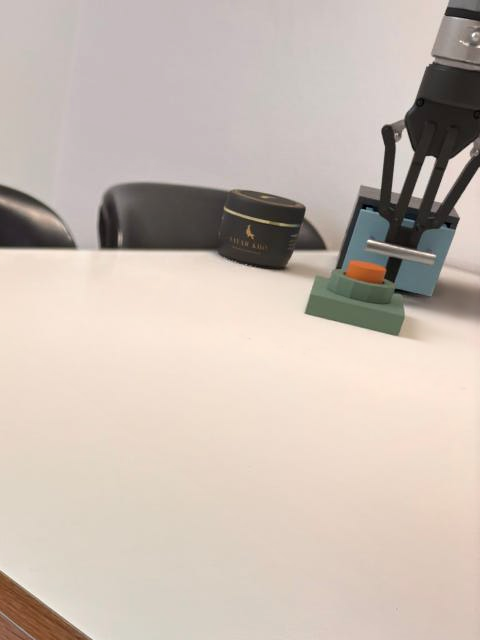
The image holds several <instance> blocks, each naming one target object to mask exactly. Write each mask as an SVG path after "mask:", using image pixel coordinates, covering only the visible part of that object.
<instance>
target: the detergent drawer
mask: <svg viewBox="0 0 480 640" xmlns="http://www.w3.org/2000/svg"><path fill="white" fill-rule="evenodd" d="M415 218H416V215H412V214H408V213H406V214H405V217H404V219H403V222H402V224H401V226H405V227H409V228H412V227H413V225H414V221H415ZM389 225H390V224H389V222H388V221H387V220H386V219H384V218H383V217H381V216H380V215H379V207H376V206H372V205H367V204H366V206H365V209H364V210H363V209H361V211H360V214H359V217H358V220H357V223H356V226H355V229H354V232H353V235H352V238H351V241H350V244H349V247H348V251H347V254H346V257H345V260H344V263H343V266H342V269H345V270H347V268H348V265H349V262H350V261H352V260H356V261H363V262H368V263H372V264H376V265H379V266H381V267H384V268H385V267H386V264H387V261H388V258H389V256H390V257H394V258H399V259H403V260H402V263H401V266H400V269H399V271H398V274H397V277H396V280H395V283H394V284H395V289H397V290H402V291H406V292H409V293H415V294H418V295H423V296H428V297H432V296H433V294H434V291H435V289H436V286H437V283H438V280H439V278H440V276H441V272H442V269H443V267H444V264H445V262H446V259H447V256H448V253H449V250H450V248H451V245H452V243H453V240H454V237H455V235H456V231H457V230H456V231H455V230H453V229H449V228H447V226H446V224H445V222H444V224H443V225H442V227H441V228H439V229H430V230H426V231H424V232H423V234H422V236H421V238H420V241H419V244H418V247H417V249H413V248H409V247H404V246H400V245H396V244H391V243H387V242H384V240H385V237H386V235H387V232H388V229H389Z"/></svg>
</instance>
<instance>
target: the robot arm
mask: <svg viewBox="0 0 480 640" xmlns="http://www.w3.org/2000/svg"><path fill="white" fill-rule="evenodd" d="M430 56H431V58H433V59H434V60H433V61H432V63H428V65H426V67H425V69H424V72H423V75H422V78H421V80H420V84H419V87H418V90H417V92H416V96H415V99H414V102H413V104H412V105H411V107H410V108H409V109H408V110H407V112H406V113H405V115H404V118H402V119H399V120H397V121H395V122H392V123H386V124H384V125H383V126H382V127H381V129H380V132H381V133H380V134H381V138H382V141H383V145H384V152H383V163H382V173H381V183H380V189H381V192H380V202H379V215H380V216H381V217H383V218H384V219H386V220H387V221H388V222H389V224H390V225H389V229H388V232H387V235H386V237H385V240H384V242H387V243H391V244H396V245H400V246H404V247H409V248H413V249H417V247H418V244H419V241H420V238H421V236H422V234H423V232H424V231H426V230H430V229H439V228H441V227H442V225H443V224H444V222H445V220H446V219H447V217H448V216H449V214H450V213H451V211H452V209H453V208H455V207H456V205H457V203H458V202H459V200H460V199H461V197H462V195H463V193H465V191H466V189H467V188H468V186H469V185H470V183H471V181H472V180H473V178H474V176H475V175H476V173H477V172H478V170H479V169H480V0H448V3H447V6H446V9H445V11H444V15H443V16H442V19H441V22H440V25H439V28H438V30H437V34H436V37H435V39H434V43H433V46H432V47H431V52H430ZM404 130H406V133H407V136H408V137H407V138H408V139H409V143H410V147H411V149H412V152H413V155H412V158H411V161H410V165H409V167H408V170H407V172H406V173H407V174H406V176H405V179H404V182H403V184H402V187H401V191H400V192H399V193H400V196H399V199H398V202H397V205H396V208H395V210H393V209H392V208H391V207H390V202H391V192H393V181H394V173H395V163H396V152H397V145H396V144H397V143H399V141H400V140H401V139H402V137H403V136H402V135H403V131H404ZM471 144H472V148H471V149H470V150H469V157H470V158H469V159H468V161H467V162H466V164H465V165H464V167H463V168H462V170H461V172H460V173H459V175H458V176H457V178H456V180H455V181H454V182H453V184H452V186H451V187H450V189H449V191H448V192H447V193H446V195H445V197H444V199H443V200H442V201H441V203H442V204H441V205H440V207H439V208H438V210H437V211H436V213H435V215H434V216H433V217H429V214H430V211H431V209H432V206H433V203H434V201H435V200H436V198H437V194H438V192H439V189H440V187H441V184H442V180H443V177H444V175H445V172H446V170H447V167H448V165H449V163H450V160H452V159H454V158H456V156H458V155H459V154H460V153H461V152H462V151H464V150H465V149H466V148H467V147H469V146H470V145H471ZM427 157H433V158H435V161H434V164H433V166H432V170H431V172H430V176H429V178H428V181H427V184H426V186H425V190H424V193H423V196H422V197H421V198H422V201H421V204H420V207H419V210H418V212H417V215H416V218H415V221H414V225H413V227H412V228H409V227H405V226H401V224H402V222H403V219H404V217H405V214H406V211H407V208H408V205H409V202H410V200H411V197H412V196H413V194H414V190H415V188H416V185H417V182H418V180H419V176H420V174H421V171H422V169H423V165H424V163H425V160H426V158H427ZM402 260H403V259H399V258H394V257H390V256H389V258H388V261H387V264H386V267H385V269H386V273H385V276H384V279H386V280H388V281H390V282H392V283H395V280H396V277H397V274H398V271H399V269H400V266H401V263H402Z"/></svg>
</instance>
